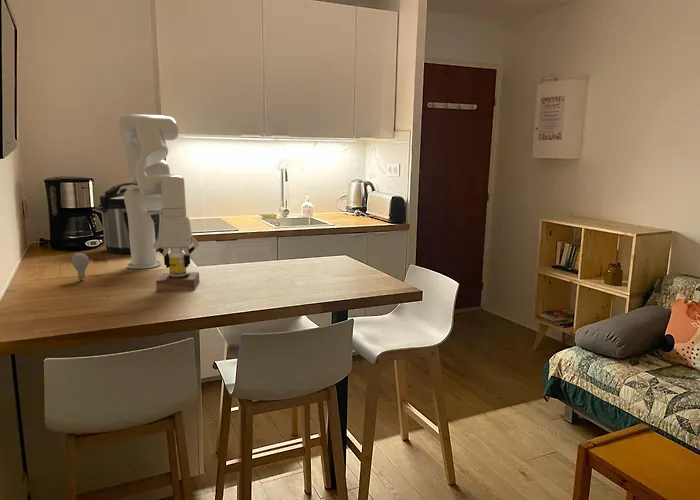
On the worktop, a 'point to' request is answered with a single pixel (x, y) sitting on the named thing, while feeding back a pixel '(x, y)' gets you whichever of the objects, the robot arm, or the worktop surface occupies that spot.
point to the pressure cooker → (119, 220)
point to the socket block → (177, 282)
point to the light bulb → (80, 264)
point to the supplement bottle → (177, 262)
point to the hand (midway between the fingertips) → (177, 266)
